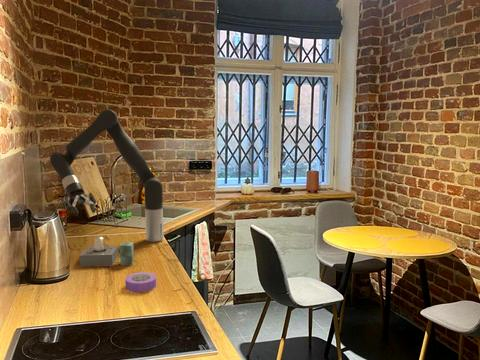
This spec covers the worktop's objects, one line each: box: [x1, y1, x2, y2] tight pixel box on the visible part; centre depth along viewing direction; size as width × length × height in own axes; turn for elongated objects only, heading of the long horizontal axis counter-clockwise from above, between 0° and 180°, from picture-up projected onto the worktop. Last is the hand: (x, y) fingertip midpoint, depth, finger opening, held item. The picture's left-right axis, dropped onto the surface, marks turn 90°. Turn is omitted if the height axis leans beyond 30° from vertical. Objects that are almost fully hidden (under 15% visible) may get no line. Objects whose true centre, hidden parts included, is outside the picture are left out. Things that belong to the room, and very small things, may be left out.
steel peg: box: [93, 236, 105, 252], centre depth 199 cm, size 4×4×11 cm
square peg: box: [119, 241, 135, 266], centre depth 196 cm, size 5×5×9 cm
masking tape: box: [124, 271, 157, 293], centre depth 170 cm, size 12×12×4 cm
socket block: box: [79, 245, 119, 267], centre depth 199 cm, size 14×14×5 cm
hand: (86, 213), depth 204 cm, fingers open, 8 cm apart
